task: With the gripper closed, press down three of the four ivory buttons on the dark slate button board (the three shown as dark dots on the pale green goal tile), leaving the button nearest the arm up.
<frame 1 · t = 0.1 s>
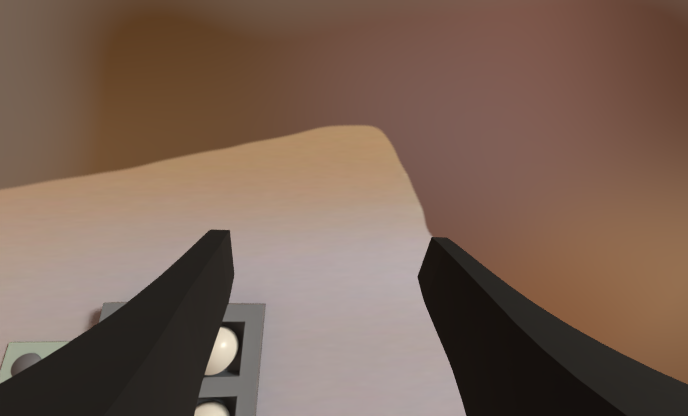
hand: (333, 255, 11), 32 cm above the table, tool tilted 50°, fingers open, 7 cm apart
button board: (182, 380, 35), on the table
button C: (215, 349, 34), point 3 cm above the table, slide at 0.0 cm
goal tile: (45, 384, 33), on the table
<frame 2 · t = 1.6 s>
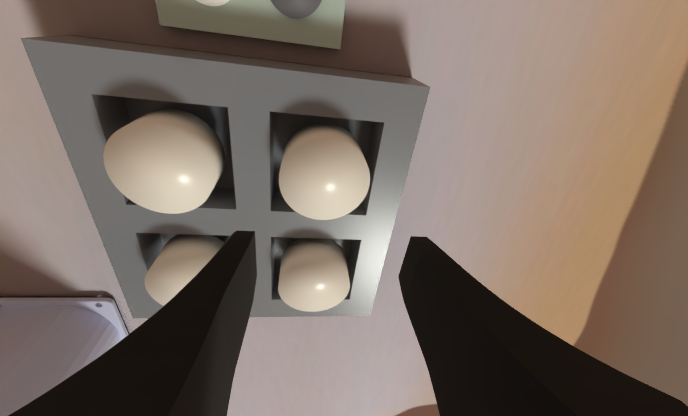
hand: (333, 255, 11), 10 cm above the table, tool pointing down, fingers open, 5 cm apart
button B: (171, 161, 15), point 3 cm above the table, slide at 0.0 cm
button A: (324, 172, 16), point 3 cm above the table, slide at 0.0 cm
button D: (193, 272, 19), point 3 cm above the table, slide at 0.0 cm
button board: (260, 199, 21), on the table
button C: (314, 274, 21), point 3 cm above the table, slide at 0.0 cm
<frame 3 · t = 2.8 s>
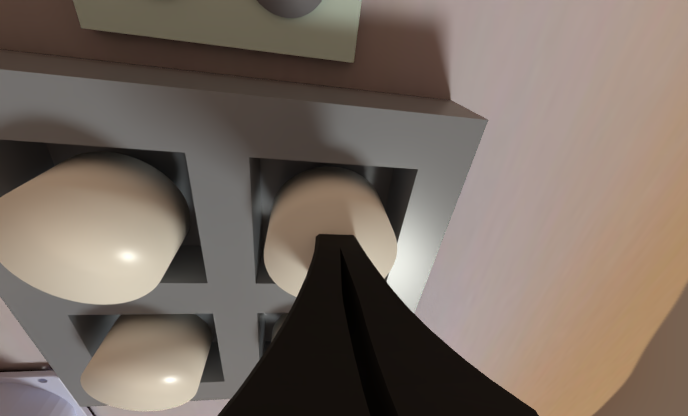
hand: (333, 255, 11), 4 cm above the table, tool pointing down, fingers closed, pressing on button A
button B: (105, 229, 10), point 3 cm above the table, slide at 0.0 cm
button A: (329, 235, 12), point 3 cm above the table, slide at 0.1 cm, touching gripper
button D: (154, 358, 14), point 3 cm above the table, slide at 0.0 cm
button board: (245, 254, 16), on the table
button C: (315, 353, 16), point 3 cm above the table, slide at 0.0 cm
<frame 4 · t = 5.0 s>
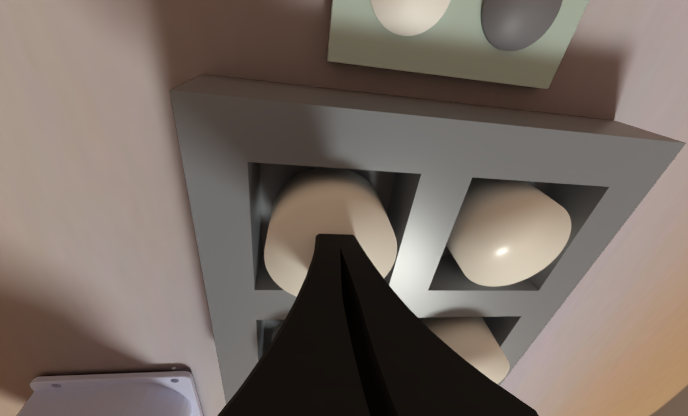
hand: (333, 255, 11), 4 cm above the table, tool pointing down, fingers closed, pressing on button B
button B: (329, 235, 12), point 3 cm above the table, slide at 0.5 cm, touching gripper
button A: (498, 229, 14), point 2 cm above the table, slide at 1.3 cm
button D: (315, 360, 15), point 3 cm above the table, slide at 0.0 cm
button board: (388, 262, 17), on the table
button C: (455, 355, 17), point 3 cm above the table, slide at 0.0 cm
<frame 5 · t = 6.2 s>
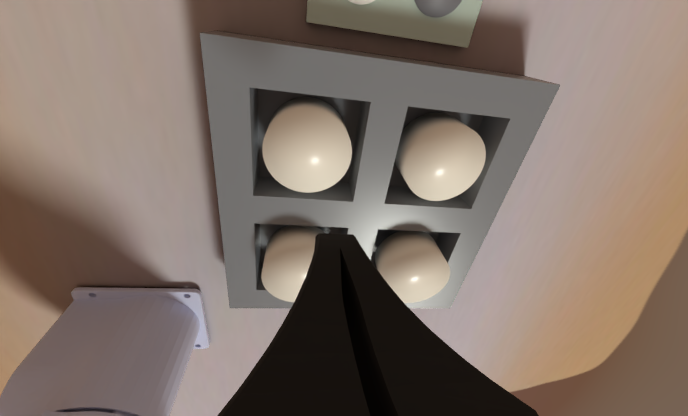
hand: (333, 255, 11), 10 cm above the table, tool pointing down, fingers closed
button B: (307, 145, 17), point 2 cm above the table, slide at 1.3 cm
button A: (437, 157, 18), point 2 cm above the table, slide at 1.3 cm
button D: (299, 263, 20), point 3 cm above the table, slide at 0.0 cm
button board: (359, 193, 21), on the table
button C: (410, 266, 21), point 3 cm above the table, slide at 0.0 cm
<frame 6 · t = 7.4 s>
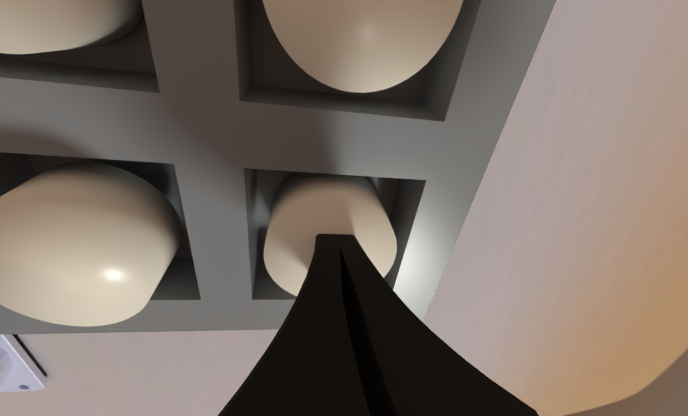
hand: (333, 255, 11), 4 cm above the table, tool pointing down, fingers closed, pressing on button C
button D: (88, 245, 9), point 3 cm above the table, slide at 0.0 cm
button board: (228, 107, 11), on the table
button C: (329, 234, 12), point 2 cm above the table, slide at 1.0 cm, touching gripper
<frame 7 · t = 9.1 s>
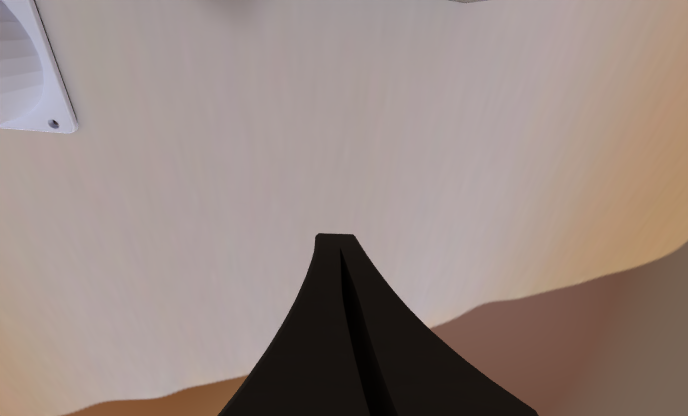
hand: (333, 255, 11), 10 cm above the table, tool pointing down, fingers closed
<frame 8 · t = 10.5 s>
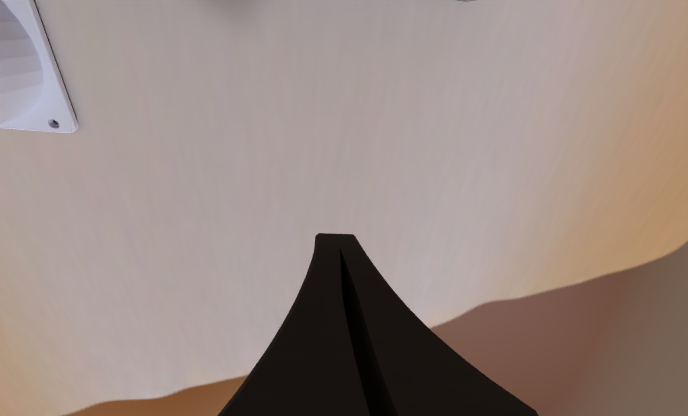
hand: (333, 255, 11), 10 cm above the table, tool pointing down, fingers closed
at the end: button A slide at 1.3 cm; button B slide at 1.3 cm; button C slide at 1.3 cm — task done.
